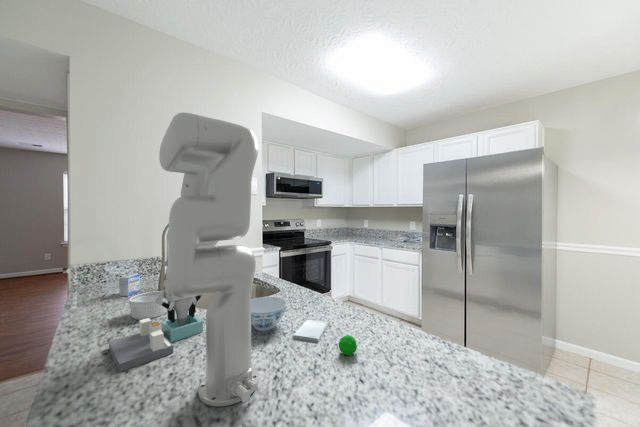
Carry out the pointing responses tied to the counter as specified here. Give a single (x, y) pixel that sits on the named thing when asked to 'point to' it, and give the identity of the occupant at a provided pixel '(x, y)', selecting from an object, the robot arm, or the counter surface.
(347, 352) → the polyhedron
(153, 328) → the block
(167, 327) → the socket
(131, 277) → the medicine box
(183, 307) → the lightbulb
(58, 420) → the counter surface
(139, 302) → the ramekin
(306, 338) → the hard drive
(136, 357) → the breaker panel
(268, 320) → the chinaware
